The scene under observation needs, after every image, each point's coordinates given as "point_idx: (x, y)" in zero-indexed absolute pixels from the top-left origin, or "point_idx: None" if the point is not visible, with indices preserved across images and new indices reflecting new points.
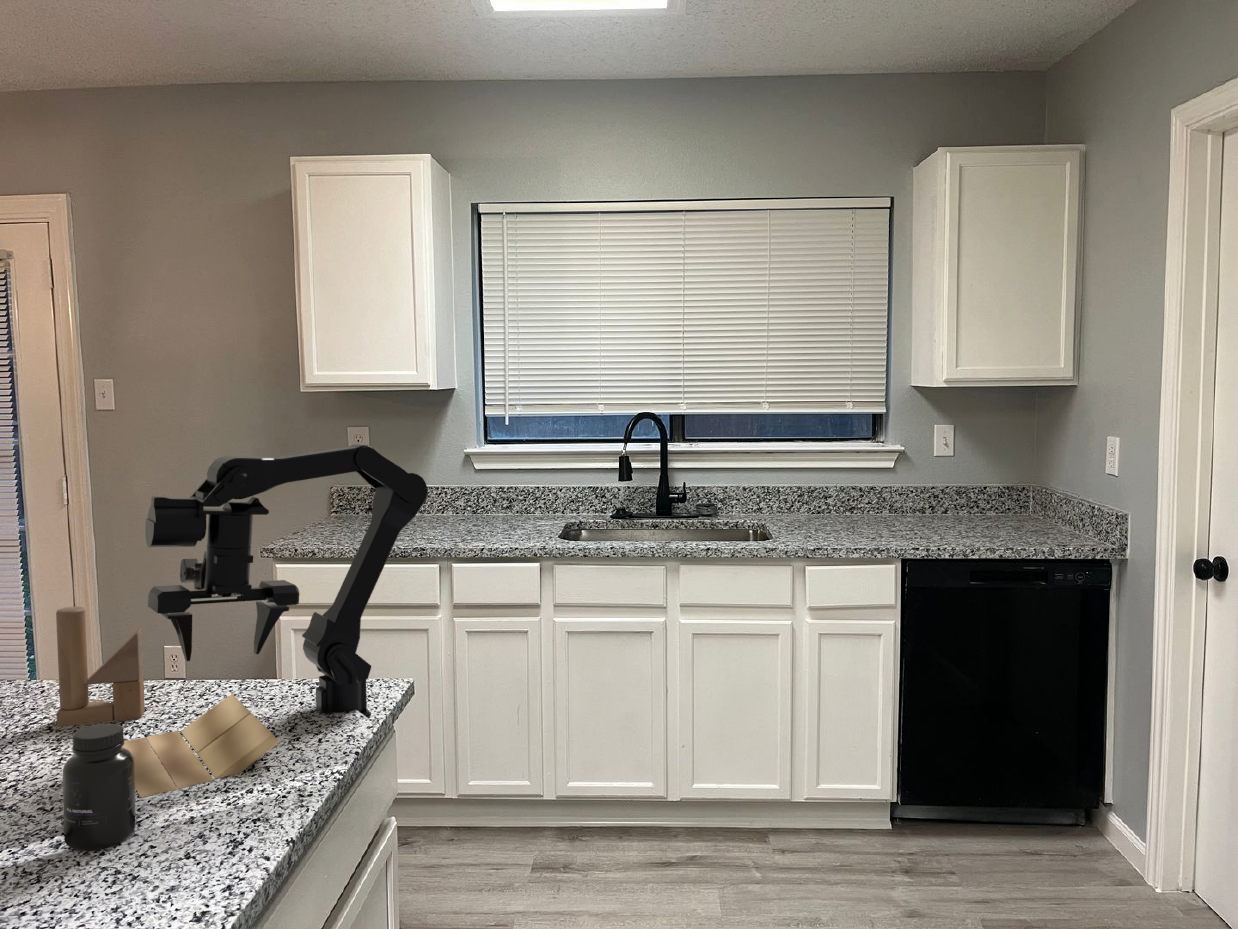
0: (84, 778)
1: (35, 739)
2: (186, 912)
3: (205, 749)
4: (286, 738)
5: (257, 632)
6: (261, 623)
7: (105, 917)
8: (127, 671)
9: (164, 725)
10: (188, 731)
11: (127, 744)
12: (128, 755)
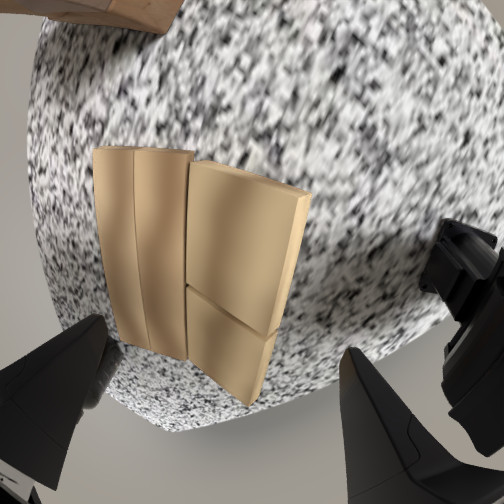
0: None
1: (57, 22)
2: (152, 421)
3: (194, 298)
4: (343, 281)
5: (362, 427)
6: (363, 476)
7: (119, 401)
8: (69, 7)
9: (204, 43)
10: (195, 191)
11: (107, 168)
12: (91, 408)
